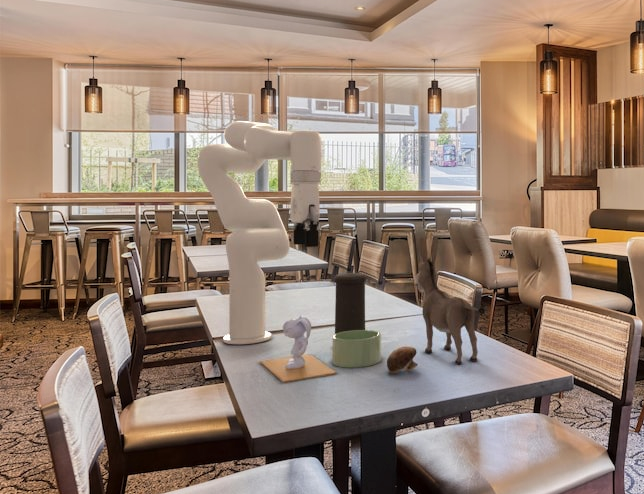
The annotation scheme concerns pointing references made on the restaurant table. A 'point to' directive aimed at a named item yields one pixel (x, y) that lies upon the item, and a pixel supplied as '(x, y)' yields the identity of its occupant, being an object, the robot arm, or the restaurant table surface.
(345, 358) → the green bowl
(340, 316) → the container
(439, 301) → the toy
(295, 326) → the toy figurine
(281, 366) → the mat
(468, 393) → the restaurant table surface
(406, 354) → the mushroom
